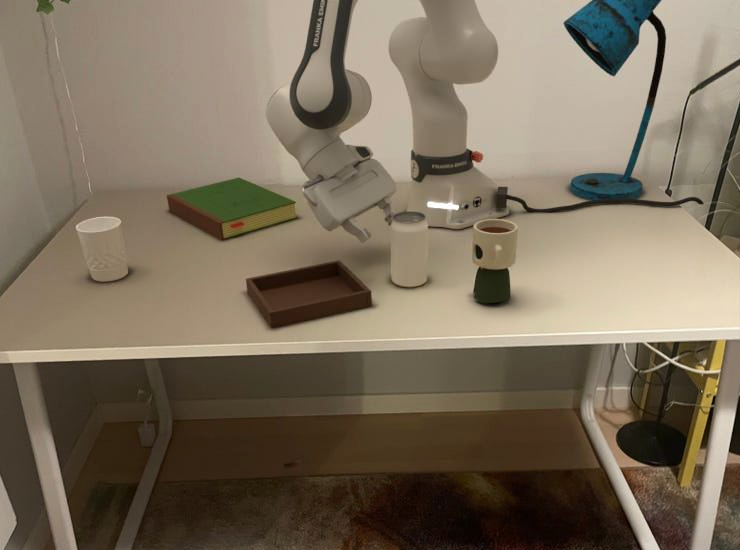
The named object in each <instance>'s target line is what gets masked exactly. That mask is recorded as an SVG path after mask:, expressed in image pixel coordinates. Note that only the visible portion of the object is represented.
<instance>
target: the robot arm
mask: <svg viewBox="0 0 740 550" xmlns="http://www.w3.org/2000/svg"><path fill="white" fill-rule="evenodd" d="M358 1H359V0H313V2H312V6H311V13H310V20H309V26H308V30H307V36H306V43H305V47H304V52H303V56H302V59H301V60H300V63H299V65H298V67H297V69H296V71H295V73H294V75H293V78H292V80H291V81H290V83H288V82H287V83H285V84H284V85H282V86H281V87H279V89H277V90H276V91H275V92H274V93H273V94H272V95H271V97H270V99H269V100H268V103H267V105H266V108H265V117H266V120H267V122H268V123H267V124H268V125H269V127H270V128H271V130H272V132H273V133H274V135H275V136H276V139H278V141H279V142H280V144H281V145H282V147H283V148H284V149H285V150H286V152H287V153H288V154H289V155H291V156H292V157H293V158H294V159H295V160H296V161H297V162H298V164H299V166H300V170H302V172H303V173H304V174H305V176H306V177H307V178H308V180H307V181H305V182H304V183H303V184H302V191H301V193H302V195H303V197H304V198H305V199H306V203H307V204H308V207H309V209H310V210H311V212H312V213H313V215H314V217H315V218H316V220H317V221H318V223H319V224H320V225H321V227H322V228H323V229H324V230H326V231H328V232H333V231H335V230H337V229H339V228H340V227H341V228H343V230H344V231H345V232H347V233H348V234H350V235H352V236H354V237H355V238H356V239H357V240H358V241H359V243H361V244H363V243H365V242H367V241H368V240H369V239H370V238H371V237H372V234H371V233H370V231H369V230H368V229H367V227H364V228H362V227H361V226H360V225H359V224H357V223H356V222H357V220H356V218H357V217H360V216H361V215H363V214H365V213H366V212H368V211H370V210H372V209H373V208H375V207H378V209H379V210H382V211H383V213H384V216H385V218H384V221H385V222H386V223H387V225H388V226H390V227H391V223H392V221H393V216H394V215H395V214H396V213H397V212H396V211H395V209H394V205H393V201H392V200H391V199H390V198H391V197H392V196H393V195H394V194H395V193H396V192H397V185H396V181H394V179H393V177H392V176H391V174H390V173H389V172H388V170H387V169H385V167H384V165H382V164H381V162H379V160H377V159H375V158H372V157H373V156H374V152H373V150H371V148H370V147H369V146H367V145H353V144H346V143H345V142H344V141H343V139H342V138H341V134H342V133H344V132H346V131H348V130H350V129H351V128H353V127H354V126H355V125H357V124H359V123H360V122H361V121H362V120H364V119H365V118H366V116H367V115H368V113H369V111H370V110H371V106H372V99H373V98H372V90H371V87H370V85H369V83H368V81H367V80H366V79H365V77H364V76H363V75H361V74H359V73H357V72H355V71H353V70H350V69H347V68H346V63H345V59H346V53H347V47H348V42H349V36H350V29H351V24H352V20H353V19H352V18H353V15H354V14H353V13H354V11H355V8H356V5H357V4H358ZM418 1H419V2H420V4H421V6H422V8H423V12H424V14H425V16H419V17H413V18H409V19H406V20H402V21H400V22H399V23H397V25H396V26H395V27H394V28H393V30H392V32H391V33H390V36H389V40H388V54H389V58H390V60H391V62H392V63H393V65H394V66H395V68H396V69H397V71H398V72H399V73H400V76H401V79H402V80H403V83H404V87H405V90H406V93H407V96H408V100H409V104H410V110H411V118H412V149H411V151H410V177H411V185H410V194H409V200H408V203H407V208H406V211H415V212H420V213H423V214H424V215H425V216H426V218H425V220H426V222H427V224H428V227H434V228H435V227H437V228H446V229H452V230H462V229H465V228H468V227H473V226H474V224H475V223H477V222H478V221H482V220H486V219H500V218H503V217H505V216H509V214H510V207H509V206H508V201H512V202H513V201H514V202H516V203H519V204H521V206H522V208H523V209H524V210H525V211H526V212H529V213H554V212H561V211H569V210H575V209H579V208H582V207H587V206H591V205H601V204H639V205H648V206H659V207H675V206H681V205H683V204H686V203H689V202H695V203H697V204H698V205H700V206H701V205H705V202H704V201H703V200H702V199H701V198H699V197H696V196H689V197H685V198H683V199H679V200H675V201H657V200H649V199H640V198H635V199H600V200H586V201H583V202H578V203H574V204H569V205H561V206H554V207H548V208H533V207H529V206H528V204H527V202H526V201H525V200H524V199H523V198H520V197H517V196H514V195H510V194H508V191H509V187H508V186H497V184H496V182H495V181H494V180H493V179H492V178H491V177H489V176H488V175H486V174H485V173H484V172H482V171H481V170H480V169H479V168H477V167H476V166H474V162H476V163H482V161H483V160H484V154H483V153H482V152H479V151H477V150H474V151H473V150H471V149H469V148H467V145H468V144H467V142H468V118H469V117H468V111H467V108H466V106H465V105H464V103H463V102H462V101H461V100H460V97H459V96H458V94H457V92H456V89H455V85H459V86H461V85H473V84H480V83H482V82H484V81H486V80H487V79H488V78H489V77H490V76H491V75H492V73H493V72H494V70H495V68H496V66H497V64H498V63H497V62H498V59H499V46H498V45H499V44H498V40H497V38H496V36H495V34H494V33H493V32H492V31H491V30H490V28H488V26H487V25H486V24H485V22H484V20H483V18H482V16H481V13H480V12H479V9H478V6H477V3H476V1H475V0H418Z"/></svg>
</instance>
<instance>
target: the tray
mask: <svg viewBox="0 0 740 550" xmlns="http://www.w3.org/2000/svg"><path fill="white" fill-rule="evenodd" d="M245 284H246V285H245V286H246V293H247V295H248V296H249V298H250V299H251V301H252V302H253V303H254V305H255V306H256V308H257V309H258V311H259V312H260V313H261V315H262V317H263V318H264V320H265V321H266V323H267V324H268V326H269V327H270V329H274V328H275V329H276V328H280V327H284V326H289V325H293V324H297V323H302V322H307V321H311V320H316V319H320V318H324V317H328V316H333V315H339V314H343V313H347V312H351V311H356V310H361V309H365V308H368V307H372V306H373V303H372V299H373V298H372V290H371V289H370V288H369V287H368V286H367V285H366V284H364V282H363V281H361V280H360V279H359V278H358V277H357V275H355V274H354V272H352V271H351V270H350V269H349V268H348V267H347V266H346V264H344V263H343V262H342V261H341V260H334V261H329V262H328V261H327V262H324V263H318V264H314V265H307V266H303V267H299V268H293V269H288V270H283V271H278V272H273V273H268V274H263V275H258V276H252V277H247V278H245Z"/></svg>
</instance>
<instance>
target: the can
mask: <svg viewBox="0 0 740 550" xmlns="http://www.w3.org/2000/svg"><path fill="white" fill-rule="evenodd" d="M395 213H396V214H395V215H394V216H393V221H392V223H391V226H390V279H391V281H392V283H393V284H394V285H396V286H398V287H402V288H417V287H421V286H423V285H425V284H426V282H427V281H428V269H429V268H428V263H429V261H428V260H429V247H428V246H429V226H428V224H427V222H426V220H425V218H426V216H425V215H424V214H423V213H420V212H415V211H407V210H406V211H399V212H395Z"/></svg>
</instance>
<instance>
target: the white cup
mask: <svg viewBox="0 0 740 550" xmlns="http://www.w3.org/2000/svg"><path fill="white" fill-rule="evenodd" d="M75 230H76V233H77V236H78V240H79V244H80V246H81V250H82V253H83V256H84V259H85V263H86V264H87V266H88V271H89V274H90V277H91V279H92V280H94V281H95V282H100V283H101V282H103V283H105V282H113V281H114V282H115V281H117V280H120V279H122V278H125V277H126V276H127V275H129V267H128V266H129V265H128V260H127V259H128V255H127V249H126V242H125V236H124V230H123V224H122V220H121V219H120V218H118V217H115V216H98V217H92V218H88V219H85V220H82V221H81V222H79V223H78V224H76V226H75Z"/></svg>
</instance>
